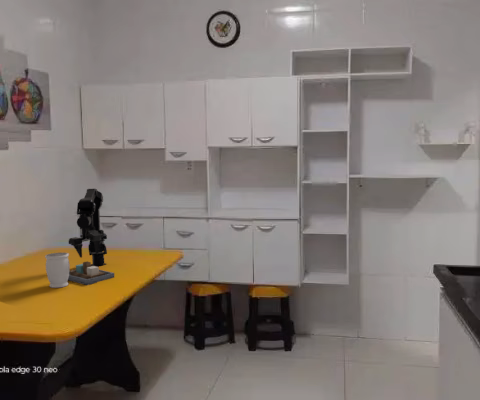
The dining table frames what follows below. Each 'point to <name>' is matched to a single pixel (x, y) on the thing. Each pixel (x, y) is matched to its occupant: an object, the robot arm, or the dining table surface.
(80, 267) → the teal block
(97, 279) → the tray
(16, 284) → the dining table surface
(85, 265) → the caddy
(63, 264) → the jar
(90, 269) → the cream block
